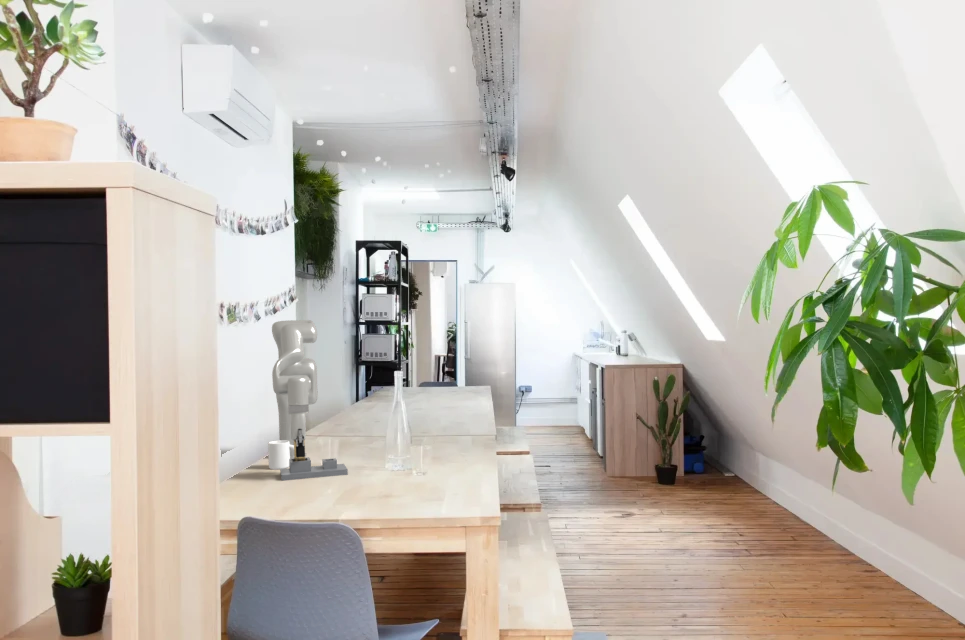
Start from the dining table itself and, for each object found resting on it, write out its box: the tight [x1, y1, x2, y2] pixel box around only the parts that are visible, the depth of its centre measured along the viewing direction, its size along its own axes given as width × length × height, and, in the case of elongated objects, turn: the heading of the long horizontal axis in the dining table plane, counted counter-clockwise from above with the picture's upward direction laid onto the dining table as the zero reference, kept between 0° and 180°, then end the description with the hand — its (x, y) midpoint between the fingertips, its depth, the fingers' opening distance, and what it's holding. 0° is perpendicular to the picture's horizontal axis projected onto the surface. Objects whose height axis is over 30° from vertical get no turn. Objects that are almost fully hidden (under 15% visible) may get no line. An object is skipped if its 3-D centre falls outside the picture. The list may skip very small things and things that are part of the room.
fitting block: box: [279, 456, 349, 481], centre depth 276 cm, size 12×24×6 cm, turn 108°
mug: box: [267, 440, 294, 470], centre depth 292 cm, size 12×8×10 cm
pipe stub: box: [294, 439, 306, 462], centre depth 275 cm, size 4×4×12 cm
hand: (299, 454), depth 275 cm, fingers open, 9 cm apart
